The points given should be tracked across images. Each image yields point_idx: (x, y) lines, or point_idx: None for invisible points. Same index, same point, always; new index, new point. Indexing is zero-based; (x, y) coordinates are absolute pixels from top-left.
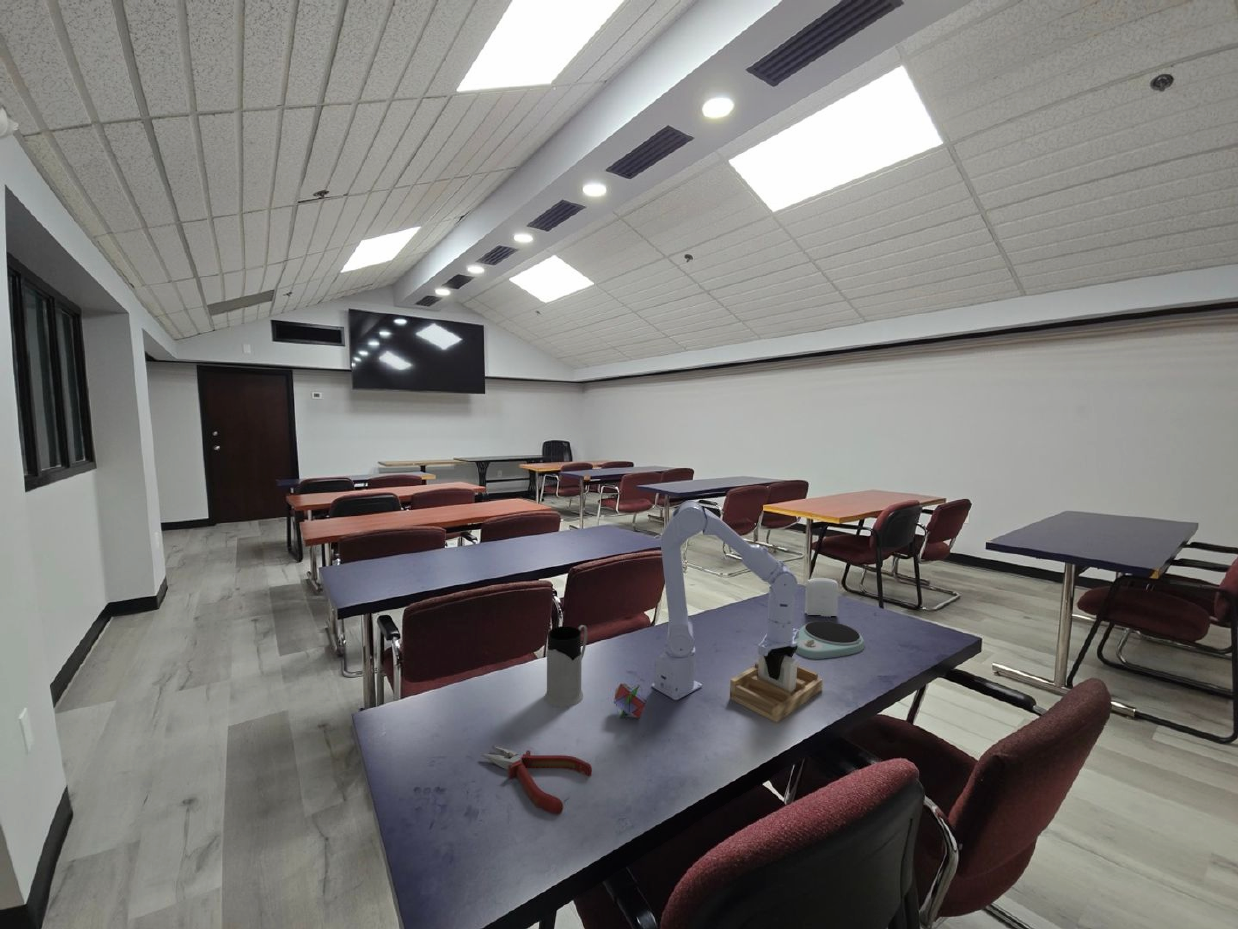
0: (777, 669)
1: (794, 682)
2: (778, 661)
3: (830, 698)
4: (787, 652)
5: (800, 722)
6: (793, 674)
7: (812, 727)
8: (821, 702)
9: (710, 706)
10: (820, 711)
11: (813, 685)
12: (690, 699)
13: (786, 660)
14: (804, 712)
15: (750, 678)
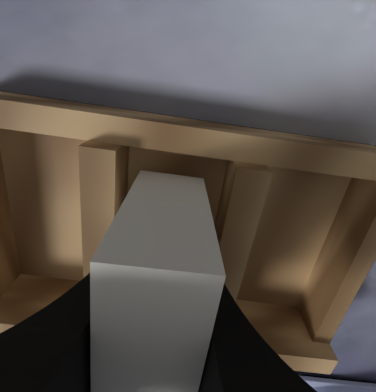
0: (234, 304)
1: (150, 185)
2: (292, 371)
3: (18, 24)
4: (72, 378)
5: (316, 68)
6: (164, 212)
7: (328, 4)
8: (89, 49)
9: (373, 326)
10: (168, 23)
11: (44, 108)
12: (363, 367)
13: (173, 326)
14: (226, 84)
15: None
